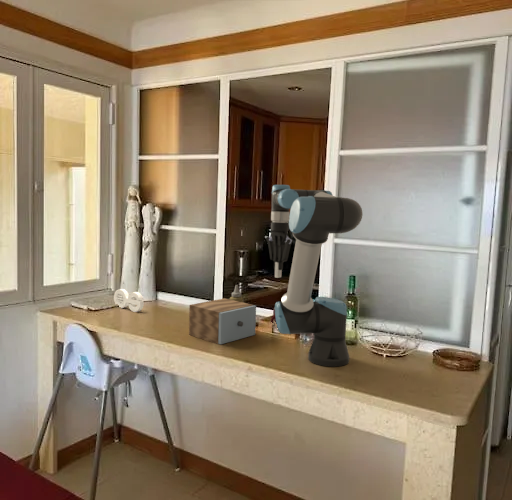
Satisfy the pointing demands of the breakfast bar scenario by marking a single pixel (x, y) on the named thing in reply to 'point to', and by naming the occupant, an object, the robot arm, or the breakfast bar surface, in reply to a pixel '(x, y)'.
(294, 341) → the breakfast bar surface
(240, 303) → the wooden drawer cabinet
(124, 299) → the contact lens case
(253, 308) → the grey drawer
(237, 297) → the squeeze bottle
